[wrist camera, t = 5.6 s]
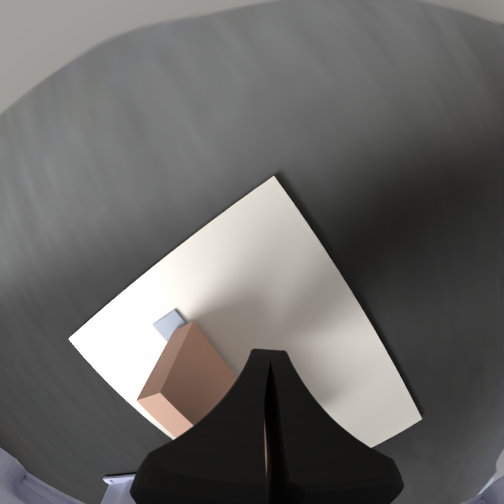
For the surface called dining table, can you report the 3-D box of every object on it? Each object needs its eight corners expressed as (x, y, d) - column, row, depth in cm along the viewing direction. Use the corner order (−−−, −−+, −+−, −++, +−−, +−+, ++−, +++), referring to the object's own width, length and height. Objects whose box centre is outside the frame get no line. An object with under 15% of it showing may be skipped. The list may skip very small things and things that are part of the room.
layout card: (252, 487, 18) (251, 491, 18) (70, 336, 15) (67, 340, 14) (420, 416, 15) (422, 420, 15) (273, 175, 12) (273, 175, 11)
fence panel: (287, 426, 15) (291, 495, 10) (261, 435, 15) (258, 501, 10) (198, 317, 13) (166, 390, 8) (169, 332, 13) (130, 402, 8)
